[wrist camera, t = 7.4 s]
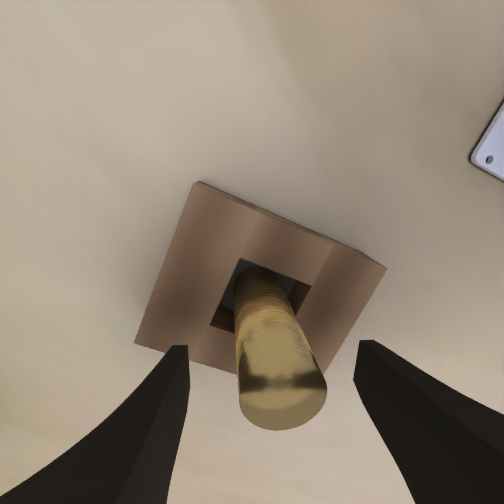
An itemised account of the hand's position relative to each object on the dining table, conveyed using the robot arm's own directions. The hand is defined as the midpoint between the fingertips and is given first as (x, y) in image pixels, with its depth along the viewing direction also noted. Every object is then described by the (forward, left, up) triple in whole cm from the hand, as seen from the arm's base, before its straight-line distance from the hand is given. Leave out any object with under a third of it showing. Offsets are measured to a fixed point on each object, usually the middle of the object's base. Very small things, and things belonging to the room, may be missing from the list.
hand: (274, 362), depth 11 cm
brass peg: (0, 0, -7) cm, 7 cm away
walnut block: (0, 0, -8) cm, 8 cm away
